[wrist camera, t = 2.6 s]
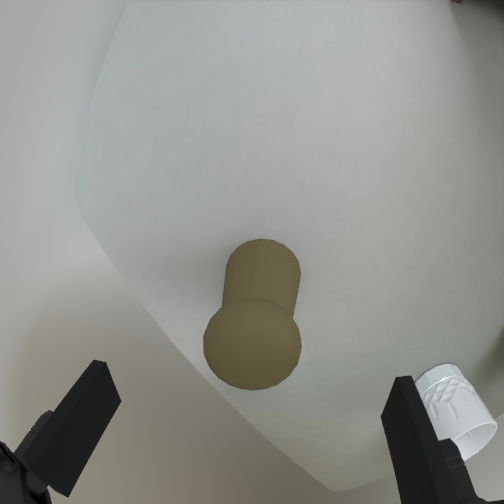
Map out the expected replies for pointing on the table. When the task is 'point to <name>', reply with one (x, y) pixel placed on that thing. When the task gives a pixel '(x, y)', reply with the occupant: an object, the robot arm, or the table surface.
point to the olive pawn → (256, 318)
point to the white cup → (456, 409)
